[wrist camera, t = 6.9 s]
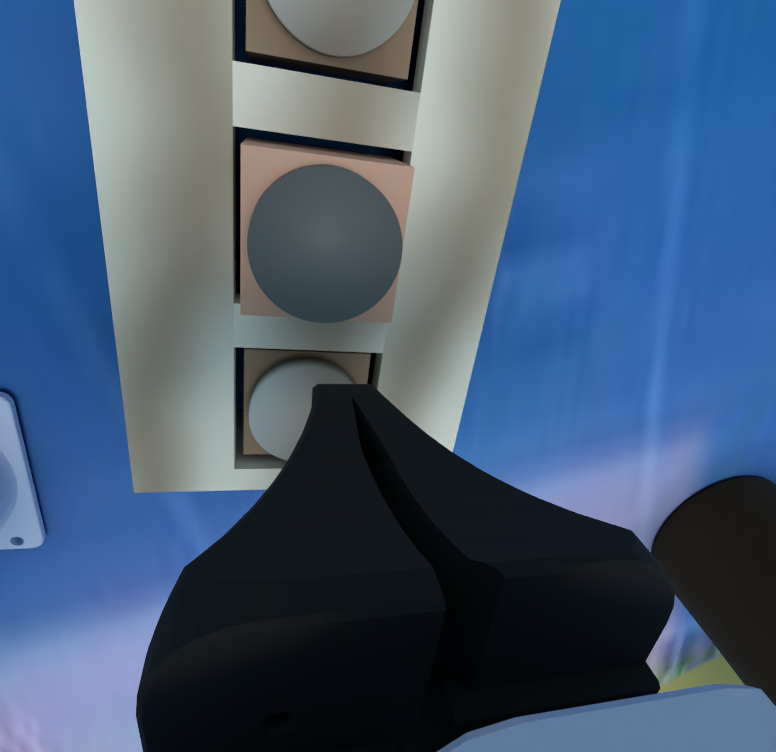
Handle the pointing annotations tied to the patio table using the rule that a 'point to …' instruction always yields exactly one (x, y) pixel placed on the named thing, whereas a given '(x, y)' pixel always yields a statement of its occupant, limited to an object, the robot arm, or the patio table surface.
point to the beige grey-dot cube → (321, 232)
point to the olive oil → (729, 572)
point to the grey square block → (218, 212)
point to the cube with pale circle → (334, 36)
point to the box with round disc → (289, 392)
